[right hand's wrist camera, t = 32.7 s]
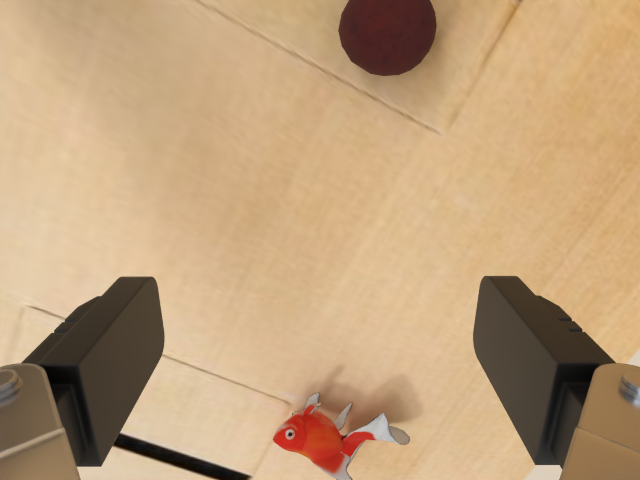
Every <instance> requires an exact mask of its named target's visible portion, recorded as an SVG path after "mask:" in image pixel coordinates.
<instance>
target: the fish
mask: <svg viewBox="0 0 640 480" xmlns="http://www.w3.org/2000/svg"><path fill="white" fill-rule="evenodd" d="M318 400H319V394H318V393H316V394H314V395H313V396H311V397H310V398H309V399H308V400H307V403H306V407H305V409H304V411H301V412H298V413H296V414H294V415H293V413H292V416H291V417H290V418H289V419H288V420H286V421H285V422H284V423H283V424H282V425H281V426H280V427H279V428H278V429H277V431H276V433H275V435H274V438H273V440H274V442H275V443H276V444H278V445H279V446H280V447H282V448H283V449H285V450H288V451H292V452H297V453H300V454H302V455H304V456H306V457H308V458H309V459H310V460H311V461H312V462H313V463H314V464H315V465H316V466H318V467H319V468H320V469H321V470H323V471H324V472H325V473H327V474H328V475H330V476H331V477H333V478H336V479H337V480H352V478H351V477H350V476H349V475H348V473H347V467H348V466H349V464H350V462H351V460H352V459H353V457H354V455H355V454H356V452H357V450H358V448H359V447H360V446H361V444H362V443H363V442H364V441H365V440H384V441H390V442H395V443H397V444H400V445H406V444H409V441H410V437H409V436H408V435H407V434H406V433H405V432H404V431H403V430H401V429H398V428H395V427H393V426H389V424H388V421H387V419H386V417H385V415H384V413H382V414H381V415H379V416H377V417H376V418H374V419H373V420H372V421H371V422H369V423H368V424H367V425H366V426H364V427H362V428H360V429H358V430H356V431H353V432H351V433H349V434H347V435H345V436H343V435H340V433H339V430H341V429H342V427H343V426H344V424H345V421H346V418H347V415H348V412H349V410H350V407H351V405H352V403H350V404H349V405H348V406H347V407H346V408H345V409H344V410H343V411H342V412H341V413H340V415H339V416H338V417H337V419H336V420H335V421H334V422H332V421H331V420H330V419H329V418H328V417H327V416H325V415H324V414H322V413H321V412H319V411H316V410H317V409H318V406H320V405H321V403H318Z"/></svg>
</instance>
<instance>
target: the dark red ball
mask: <svg viewBox="0 0 640 480" xmlns="http://www.w3.org/2000/svg"><path fill="white" fill-rule="evenodd" d="M338 31H339V35H340V40H341V44H342V47H343V48H344V50H345V51H346V53H347V55H348V57H349V58H350V60H351V61H352V62H353V63H355V64H356V65H358V66H359V67H361V68H363V69H364V70H366V71H367V72H369V73H370V74H375V75H381V76H390V75H400V74H402V73H405V72H407V71H410V70H411V69H413V68H414V67H415V66H417V65H418V64H419V63H420V62H421V61H422V60H423V58H424V57H425V56H426V54H427V53H428V52H429V50H430V48H431V45H432V43H433V41H434V38H435V32H436V17H435V12H434V9H433V6H432V4H431V2H430V0H349V2H348V3H347V5H346V7H345V9H344V10H343V12H342V15H341V20H340V25H339V30H338Z"/></svg>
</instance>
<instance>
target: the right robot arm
mask: <svg viewBox="0 0 640 480" xmlns="http://www.w3.org/2000/svg"><path fill="white" fill-rule="evenodd" d="M473 342H474V349H475V353H476V356H477V358H478V360H479V362H480V364H481V366H482V367H483V369H484V371H485V373H486V375H487V377H488V378H489V380H490V382H491V384H492V386H493V388H494V390H495V391H496V393H497V395H498V397H499V399H500V401H501V402H502V404H503V406H504V408H505V410H506V412H507V414H508V415H509V417H510V419H511V421H512V423H513V425H514V426H515V428H516V430H517V432H518V434H519V436H520V437H521V439H522V441H523V443H524V445H525V447H526V449H527V450H528V452H529V454H530V456H531V458H532V460H533V461H534V463H535V465H560V466H561V468H562V473H561V476H560V479H559V480H640V367H637V366H634V365H629V364H621V363H616V362H615V361H614V360H613V359H612V358H611V357H610V356H609V355H608V354H607V353H606V352H605V351H604V350H603V349H602V348H601V347H600V346H599V345H598V344H597V343H595V342H594V341H593V340H592V339H591V338H590V337H589V336H588V335H587V334H586V333H585V332H582V329H581V328H580V327H579V326H578V325H577V324H576V323H575V322H574V321H572V319H571V318H570V317H569V316H568V315H567V314H566V313H565V312H564V311H563V310H562V309H561V308H560V307H559V306H558V305H556V304H554V303H552V302H550V301H549V300H547V299H545V298H543V297H541V296H536V295H535V294H534V293H533V292H532V291H531V290H530V289H529V288H528V287H527V286H526V285H525V284H524V283H523V282H522V281H521V280H520V278H518V277H517V276H484V277H483V279H482V281H481V284H480V289H479V296H478V303H477V310H476V317H475V324H474V332H473ZM163 348H164V327H163V320H162V313H161V307H160V300H159V293H158V286H157V282H156V280H155V278H153V277H120V278H118V279H117V280H116V282H115V283H114V284H113V285H112V286H111V287H110V288H109V289H108V290H107V291H106V292H105V293H104V294H103V295H102V296H97V297H95V298H93V299H92V300H90V301H88V302H86V303H84V304H83V305H81V306H79V307H77V308H76V309H75V310H74V311H73V312H72V313H71V314H70V315H69V316H68V317H67V318H66V319H65V322H62V323H61V324H60V325H59V326H58V327H57V328H56V329H55V330H54V333H51V334H50V335H49V336H48V337H47V338H46V339H45V340H44V341H43V342H42V343H41V344H40V345H39V346H38V347H37V348H36V349H35V350H34V351H33V352H32V353H31V354H30V355H29V356H28V357H27V358H26V359H25V360H24V361H23V362H22V363H19V364H11V365H6V366H2V367H0V480H81V479H80V476H79V473H78V470H77V467H101V466H102V464H103V462H104V460H105V459H106V457H107V455H108V453H109V451H110V449H111V448H112V446H113V444H114V442H115V440H116V438H117V437H118V435H119V433H120V431H121V429H122V428H123V426H124V424H125V422H126V420H127V418H128V417H129V415H130V413H131V411H132V409H133V408H134V406H135V404H136V402H137V400H138V398H139V397H140V395H141V393H142V391H143V389H144V387H145V386H146V384H147V382H148V380H149V378H150V377H151V375H152V373H153V371H154V369H155V367H156V366H157V364H158V362H159V360H160V358H161V356H162V353H163Z"/></svg>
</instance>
